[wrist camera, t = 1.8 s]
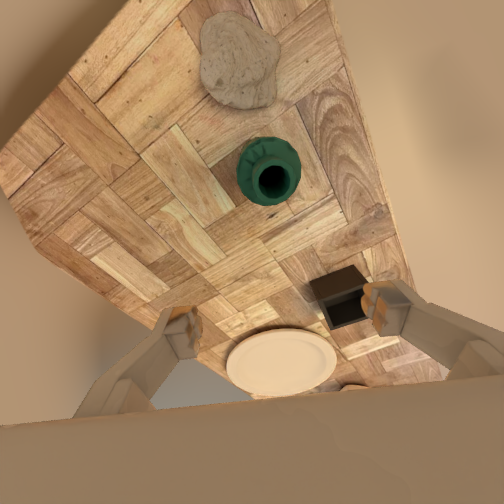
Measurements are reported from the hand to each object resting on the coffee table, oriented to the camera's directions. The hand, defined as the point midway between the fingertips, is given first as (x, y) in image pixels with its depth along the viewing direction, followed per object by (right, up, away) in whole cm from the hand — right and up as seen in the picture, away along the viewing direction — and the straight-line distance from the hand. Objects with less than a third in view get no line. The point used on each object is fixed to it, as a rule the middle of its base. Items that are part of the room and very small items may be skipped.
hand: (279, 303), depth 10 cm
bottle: (0, +16, +19) cm, 25 cm away
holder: (+16, -5, +32) cm, 36 cm away
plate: (+6, -26, +44) cm, 51 cm away
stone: (-3, +25, +14) cm, 29 cm away
